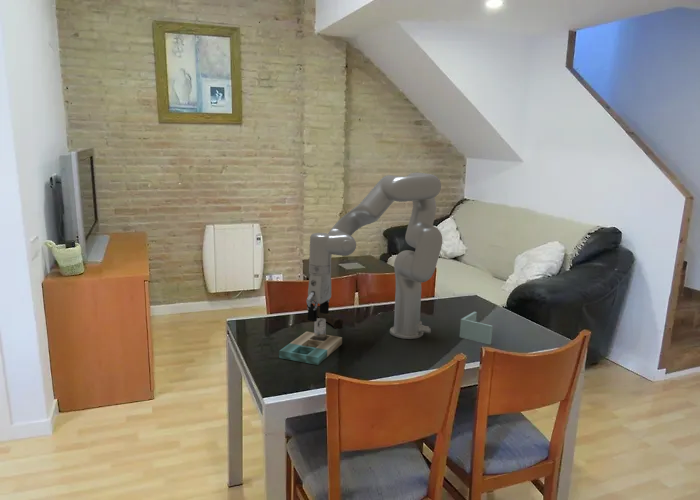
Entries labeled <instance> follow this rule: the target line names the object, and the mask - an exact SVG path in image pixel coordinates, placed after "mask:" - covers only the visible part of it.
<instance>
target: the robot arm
mask: <svg viewBox="0 0 700 500" xmlns="http://www.w3.org/2000/svg"><path fill="white" fill-rule="evenodd" d="M441 182H442V181H441V180H440V179H439V177H438V176H436V175H435V174H433V173H432V174H431V173H426V172H425V173H424V172H411V173H409V174H408V175H407V176H398V175H393V174H392V175H391V174H388V175H385V176H383V177H382V178H381V179H379V181H377V183H376V184H375V185H374V187H373V188H371V190H370V191H369V192H368V194H367V195H366V196H365V197H364V199H362V200H361V202H360V203H359V204H357V205H356V206H354V208H352V209H351V210H350V211H348V212H347V213H346V214H344V215H342V217H341V218H340V219H338V220H337V222H336V223H335V224H333V225H334V226H333V227H332V228H331V229H330V230H329V231H328V232H314V233H312V234H311V235H310V237H309V259H308V262H309V263H308V264H309V265H308V274H309V279H308V287H307V288H308V289H307V298H306V308H307V321H309V322H310V321H311V322H316V321H317V318H318V317H317V310H316V308H317V306H320V313H324V314H328V313H330V312H329V309H330V299H331V298H332V275H331V274H332V256H333V255H335V256H343V257H344V256H349V255H352V254H353V253H354V252H355V251H356V248H357V242H356V239H355V238H354V237H353V234H354V233H356V232H357V231H358V230H359V229H360V228H362V227H364V226H367V225H371V224H373V223H376V222H377V221H379V219H380V218H381V217H382V216H383V215H384V213H385V212H386V211H387V210H388V209H389V207H391V206H392V204H393V203H394V202H399V203H400V202H401V203H404V202H406V203H407V202H412V210H411V215H410V218H409V221H408V225H407V227H406V231H405V236H404V237H405V243H407V245H408V246H410V247H412V248H414V249H415V250H412V249H411V250H408V249H406V250H405V249H404V250H402V251H400V252H399V253H397V255H396V256H395V259H394V263H393V268H394V276H395V295H394V315H393V316H394V322H393V326H392V327H390V329H389V334H390V335H391V336H393V337H396V338H398V339H405V340H406V339H408V340H412V339H413V340H414V339H419V338H421V337H423V336H424V333H426V334H431V332H432V331H431V330H432V328H431V327H430V326H428V325H424V324H423V322H422V321H421V306H422V305H421V304H422V303H421V301H422V283H425V282H426V283H427V281H429V280H430V279H432V277H433V275H434V274H435V273H434V272H435V270H436V266H437V263H438V260H439V257H440V253H441V250H442V248H443V246H442V245H443V235H442V232H441V230H440V229H439V228H437V227H436V226H433V225H434V222H435V217H436V214H437V203H436V197H437V196H438V195H439V193H441V190H442V183H441ZM318 304H319V305H318Z"/></svg>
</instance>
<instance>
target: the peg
mask: <svg viewBox="0 0 700 500" xmlns="http://www.w3.org/2000/svg"><path fill="white" fill-rule="evenodd" d="M313 322H314V321H313ZM326 322H327V321H326V319H324V318H318V317H317V321H316V322H314V323H313V324H314V327H313V328H314V329H313V330H314V331H313V333H314V340H319V341H325V340H326V335H327V334H326V332H327V331H326V330H327V323H326Z"/></svg>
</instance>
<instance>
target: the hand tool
mask: <svg viewBox="0 0 700 500" xmlns="http://www.w3.org/2000/svg"><path fill="white" fill-rule="evenodd" d="M316 310H317V316H318V317H319V318H324V319H326V322H327V323H328V324H330V325H331V326H333V328H334V329H341V328H343V324H344V320H343V319H342V318H338V316H336V315H334V314H331V313H330V312H329V313H328V314H324V313H320V305H317V308H316ZM318 317H317V318H318Z"/></svg>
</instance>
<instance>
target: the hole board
mask: <svg viewBox="0 0 700 500" xmlns="http://www.w3.org/2000/svg"><path fill="white" fill-rule="evenodd" d="M342 345H343V337H341V336H338V335H337V336H336V335H330V334H326V340H325V341H319V340H314V331H313V332H311V331H305V332H304V333H303V334H301V335H300V336H298V337H296V338H295V339H294V340H292V341H291V342H290V343H288V344H286V345H284V347H283V348H281V349H280V350H278V355H279V356H278V357H279V359H282V360H283V359H284V360H290V361H295V362H298V363H299V362H301V363H306V364H310V365H311V364H312V365H316V366H318V365H320V364H321V363H322V362H324V360H325V359H327V358H328V357H329V356H330V355H332V353H334V351H336V350H337V349H339V348H340V346H342Z"/></svg>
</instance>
